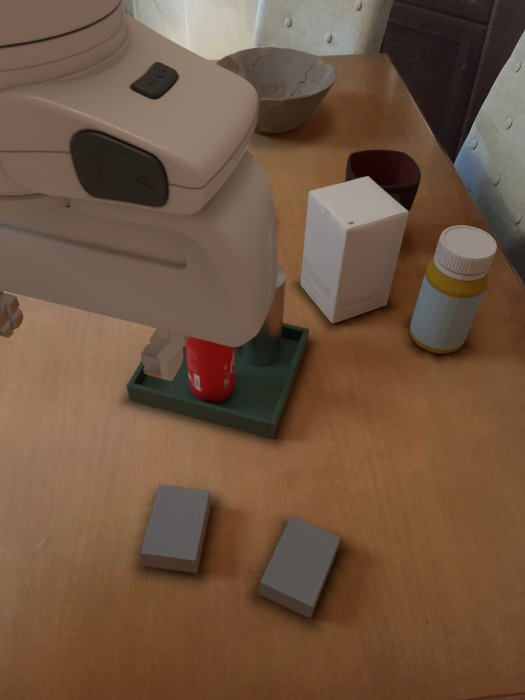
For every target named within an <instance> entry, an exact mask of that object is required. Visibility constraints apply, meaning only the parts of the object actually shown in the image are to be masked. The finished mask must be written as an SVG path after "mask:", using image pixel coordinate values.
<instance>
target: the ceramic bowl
mask: <svg viewBox="0 0 525 700" xmlns="http://www.w3.org/2000/svg"><path fill="white" fill-rule="evenodd" d="M214 63H215V64H217V65H219V66H221V67H223V68H225V69H227V70H229V71H231V72H233V73H235V74H237V75H239V76H241V77H242V78H244V79H245V80H247V81H248V82H249V83H250V84H251V85H252V86H253V87H254V88H255V90H256V92H257V95H258V100H259V114H258V121H257V124H256V128H255V130H254V132H259V133H262V134H280V133H285V132H289V131H291V130H294V129H296V128H298V127H300V126H301V125H303V124H304V123H306V122H307V121H308V120H309V119H310V118H311V116H313V114H314V113H315V111H316V110H317V109H318V108H319V107H320V105H321V103H322V102H323V101H324V99H325V98H326V96H327V95H328V93H329V92H330V90H331V88H332V87H333V86H334V84H335V82H336V80H337V71H336V68H335V66H333V64H331V63H330V62H328V61H327V59H324V58H321V57H320V56H318V55H315V54H313V53H310V52H307V51H302V50H298V49H294V48H287V47H273V46H266V47H263V46H261V47H251V48H246V49H242V50H238V51H236V52H234V53H230V54H228V55H225V56H223V57H222V58H221V59H219V60H217V61H216V62H214Z"/></svg>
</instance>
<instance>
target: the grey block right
mask: <svg viewBox="0 0 525 700" xmlns="http://www.w3.org/2000/svg"><path fill="white" fill-rule="evenodd" d="M341 541H342V537H341V536H339V535H337V534H334V533H332V532H330V531H327V530H325V529H324V528H321V527H319V526H317V525H314V524H312V523H309V522H307V521H305V520H302V519H300V518H298V517H295V516H293V515H291V516H290V517H289V520H288V522H287V524H286V526H285V528H284V529H283V532H282V534H281V536H280V538H279V541H278V542H277V545H276V547H275V549H274V551H273V553H272V556H271V557H270V559H269V562H268V564H267V565H266V568H265V570H264V572H263V574H262V577H261V578H260V580H259V592H258V593H259V595H260V596H262V597H265V598H266V599H267V600H270V601H272V602H275V603H276V604H278V605H281V606H283V607H284V608H287V609H289V610H291V611H293V612H294V613H297V614H299V615H300V616H301V615H302V616H303V617H305V618H308V619H312V616H313V614H314V612H315V609H316V606H317V604H318V601H319V599H320V597H321V594H322V592H323V589H324V586H325V583H326V581H327V579H328V576H329V574H330V572H331V568H332V566H333V563H334V561H335V559H336V556H337V553H338V552H339V548H340V544H341Z"/></svg>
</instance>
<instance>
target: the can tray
mask: <svg viewBox="0 0 525 700" xmlns="http://www.w3.org/2000/svg"><path fill="white" fill-rule="evenodd" d="M309 332H310V329H309V328H306V327H303V326H298V325H293V324H289V323H285V322H283V328H282V342H281V353H280V356H279V358H278V359H277V360H276V361H274V362H273V363H271V364H268V365H254V364H251V363H249V362H247V361H246V360H245V359H244V358H243V357H242V355H241V353H240V346H239V347H235V386H234V389H233V391H232V392H231V394H230V396H229V397H228V398H227V399H226V400H225V401H223V402H221V403H218V404H210V403H206V402H202V401H199V400H198V399H197V398H196V397H195V395H194V394H193V393H192V391H191V389H190V386H189V376H188V366H187V355H186V345H185V346H184V347H183V361H182V364H181V366H180V368H179V370H178V372H177V374H176V376H175V378H174V379H173V380H172V381H169V380H165V379H161V378H158V377H154V376H151V375H147V374H145V373H144V370H143V369H144V367H145V366H144V365H143V364H142V360H141V361H140V362H139V364H138V366H137V367H136V369H135V370H134V372H133V374H132V375H131V377H130V379H129V381H128V382H127V384H126V390H127V395H128V399H129V401H132V402H135V403H139V404H143V405H147V406H151V407H155V408H158V409H162V410H166V411H169V412H172V413H173V412H174V413H177V414H181V415H184V416H188V417H191V418H195V419H199V420H202V421H207V422H210V423H213V424H217V425H221V426H224V427H229V428H232V429H236V430H239V431H243V432H246V433H251V434H255V435H258V436H261V437H265V438H270V439H274V438H275V436H276V434H277V430H278V427H279V425H280V422H281V419H282V416H283V413H284V410H285V408H286V405H287V402H288V400H289V396H290V394H291V392H292V391H291V390H292V388H293V385H294V382H295V379H296V376H297V374H298V371H299V368H300V365H301V362H302V360H303V357H304V355H305V352H306V348H307V346H308V341H309V334H310V333H309Z"/></svg>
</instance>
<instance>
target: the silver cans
mask: <svg viewBox="0 0 525 700" xmlns="http://www.w3.org/2000/svg"><path fill="white" fill-rule="evenodd" d="M286 285H287V272H286V270H285V268H284V267H283V266H282V265H280V264H278V269H277V286H276V291H275V295H274V299H273V302H272V304H271V307H270V310H269V312H268V315H267V317H266V319H265V321H264V323H263V325H262V327H261V329H260V331H259V332H258V334H257V335H256V336H255V337H253V338H252V339H251V340H249V341H248V342H246V343H245V344H243V345H241V346H240V353H241V355H242V357H243V358H244V359H245V360H246V361H247V362H249V363H251V364H254V365H268V364H271V363H273V362H274V361H276V360H277V359H278V358H279V356H280V353H281V342H282V328H283V323H284V316H285V315H284V314H285V300H286V299H285V298H286Z"/></svg>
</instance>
